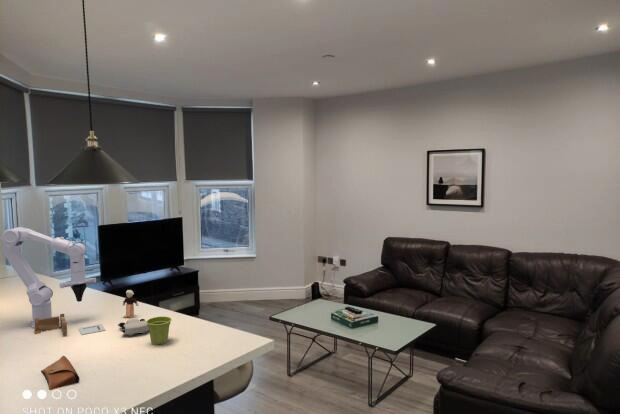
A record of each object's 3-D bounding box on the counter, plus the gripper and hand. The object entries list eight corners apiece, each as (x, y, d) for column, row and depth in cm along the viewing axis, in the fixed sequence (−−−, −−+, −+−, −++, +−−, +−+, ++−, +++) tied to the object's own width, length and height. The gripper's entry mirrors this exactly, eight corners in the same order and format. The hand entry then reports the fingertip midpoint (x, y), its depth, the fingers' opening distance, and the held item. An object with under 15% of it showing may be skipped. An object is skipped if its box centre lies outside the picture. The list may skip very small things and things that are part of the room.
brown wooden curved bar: (60, 325, 185) (59, 314, 184) (64, 324, 185) (64, 313, 185) (63, 335, 173) (62, 322, 173) (67, 334, 174) (67, 322, 174)
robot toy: (116, 331, 183) (123, 339, 170) (115, 320, 183) (122, 328, 170) (146, 325, 190) (155, 333, 177) (145, 315, 190) (154, 322, 177)
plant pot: (177, 339, 171) (176, 317, 170) (161, 348, 162) (161, 325, 162) (157, 336, 174) (157, 315, 174) (141, 344, 165) (140, 322, 165)
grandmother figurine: (120, 318, 196) (119, 291, 195) (123, 315, 200) (122, 289, 199) (137, 318, 196) (136, 291, 195) (140, 315, 200) (139, 288, 199)
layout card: (78, 328, 183) (78, 327, 183) (101, 324, 188) (101, 323, 188) (81, 335, 176) (81, 334, 176) (105, 330, 181) (105, 329, 181)
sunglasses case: (38, 370, 143) (49, 351, 145) (59, 375, 148) (70, 356, 149) (49, 391, 130) (61, 369, 132) (72, 395, 134) (83, 374, 136)
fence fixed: (34, 330, 181) (33, 317, 180) (66, 325, 187) (65, 312, 187) (34, 334, 177) (34, 320, 176) (67, 328, 183) (66, 315, 183)
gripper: (63, 275, 182) (64, 306, 183) (98, 269, 193) (99, 299, 194) (57, 272, 187) (58, 303, 188) (92, 267, 197) (93, 296, 198)
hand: (79, 301), depth 191 cm, fingers closed
